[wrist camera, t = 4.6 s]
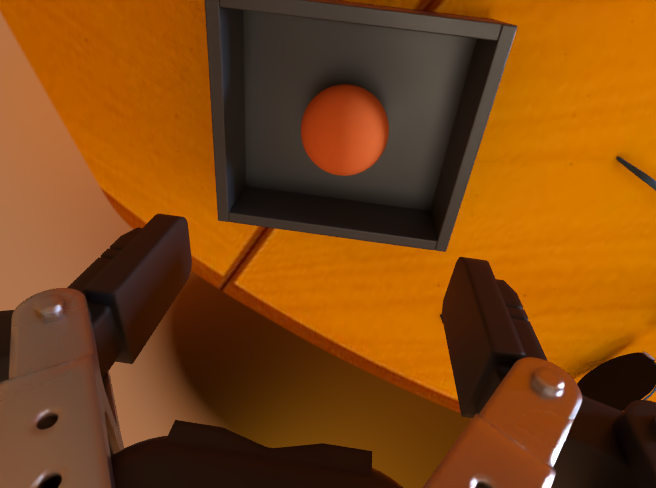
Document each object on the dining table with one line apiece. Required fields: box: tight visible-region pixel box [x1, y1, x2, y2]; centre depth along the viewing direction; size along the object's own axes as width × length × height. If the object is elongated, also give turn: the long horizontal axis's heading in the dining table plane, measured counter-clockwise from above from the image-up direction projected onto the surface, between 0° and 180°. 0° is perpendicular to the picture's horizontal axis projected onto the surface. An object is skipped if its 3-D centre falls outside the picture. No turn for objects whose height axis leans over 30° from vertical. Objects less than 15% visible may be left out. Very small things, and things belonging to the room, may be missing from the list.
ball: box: [301, 84, 389, 176], centre depth 23 cm, size 5×5×5 cm
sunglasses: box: [440, 157, 656, 411], centre depth 29 cm, size 17×15×5 cm
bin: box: [205, 0, 517, 252], centre depth 23 cm, size 14×12×5 cm
